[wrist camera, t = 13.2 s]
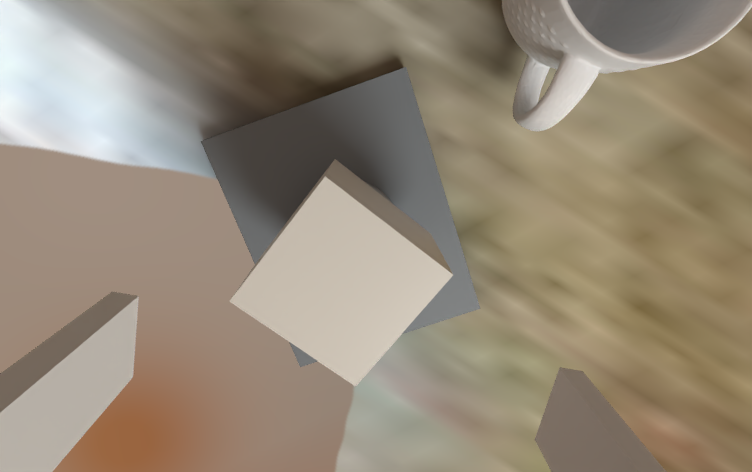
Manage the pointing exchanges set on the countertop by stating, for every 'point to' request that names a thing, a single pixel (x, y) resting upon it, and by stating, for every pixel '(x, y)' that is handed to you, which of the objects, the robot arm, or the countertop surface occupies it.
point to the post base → (358, 154)
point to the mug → (603, 44)
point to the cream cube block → (344, 275)
